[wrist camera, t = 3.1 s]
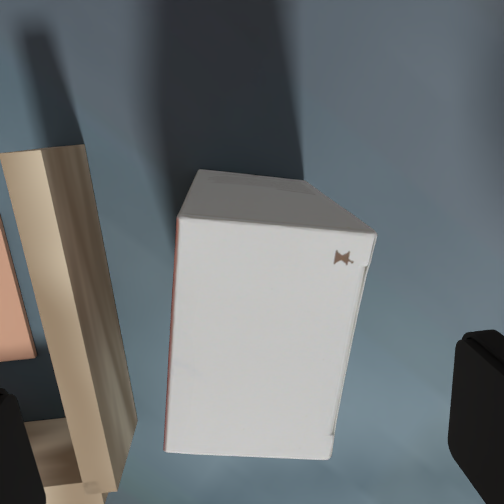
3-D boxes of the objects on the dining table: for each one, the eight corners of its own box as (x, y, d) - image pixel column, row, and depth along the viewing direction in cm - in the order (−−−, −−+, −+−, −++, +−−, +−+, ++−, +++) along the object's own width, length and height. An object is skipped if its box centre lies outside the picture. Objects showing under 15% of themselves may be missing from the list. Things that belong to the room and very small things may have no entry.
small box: (197, 166, 21) (173, 205, 11) (307, 179, 21) (383, 227, 11) (186, 313, 23) (157, 459, 13) (285, 320, 23) (332, 466, 13)
